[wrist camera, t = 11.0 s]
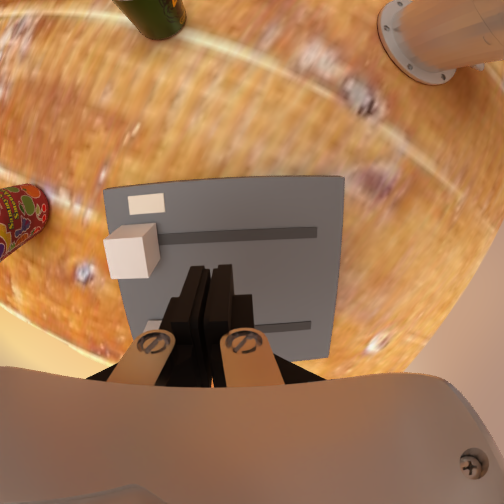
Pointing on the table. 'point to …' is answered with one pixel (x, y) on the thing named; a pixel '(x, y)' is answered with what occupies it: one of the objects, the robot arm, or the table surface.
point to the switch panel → (243, 250)
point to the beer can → (154, 16)
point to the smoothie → (20, 216)
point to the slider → (132, 251)
